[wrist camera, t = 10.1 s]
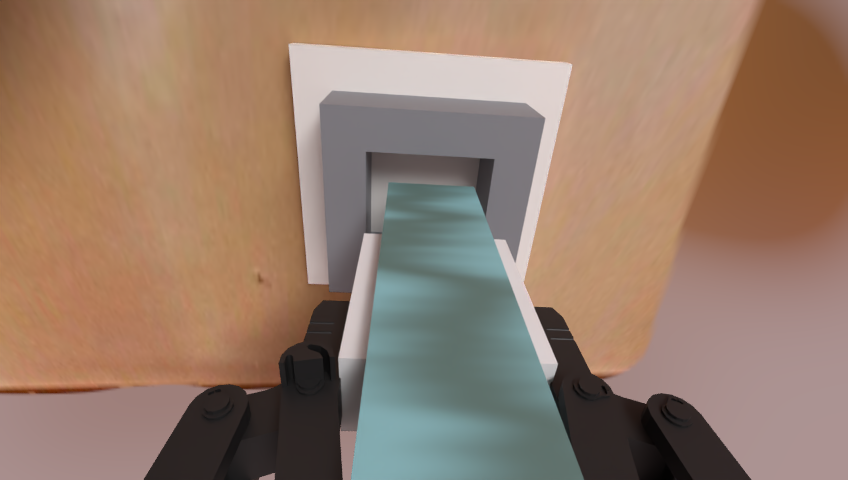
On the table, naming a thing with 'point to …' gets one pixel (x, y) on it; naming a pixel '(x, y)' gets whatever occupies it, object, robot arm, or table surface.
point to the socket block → (418, 141)
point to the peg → (451, 355)
